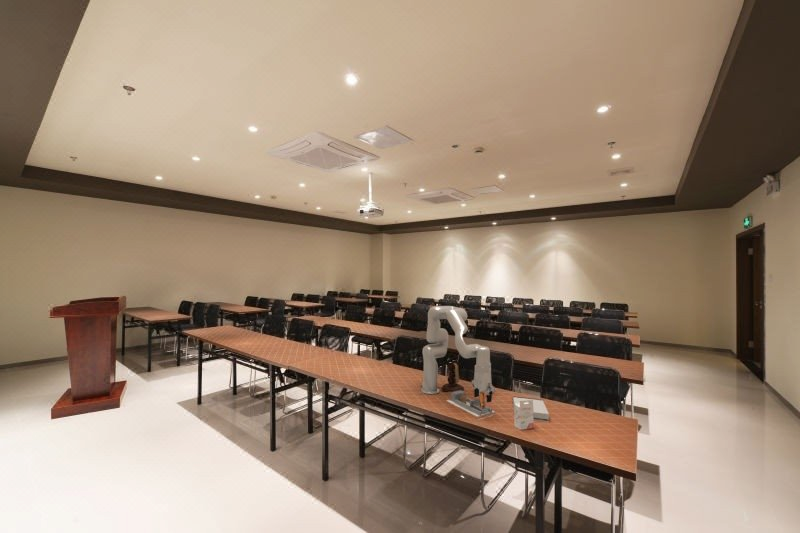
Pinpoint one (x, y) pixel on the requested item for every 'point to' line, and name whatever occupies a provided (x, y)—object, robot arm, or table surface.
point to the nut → (463, 399)
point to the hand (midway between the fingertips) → (482, 399)
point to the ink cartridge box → (523, 415)
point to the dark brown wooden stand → (453, 378)
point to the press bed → (467, 404)
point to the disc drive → (535, 408)
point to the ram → (480, 403)
